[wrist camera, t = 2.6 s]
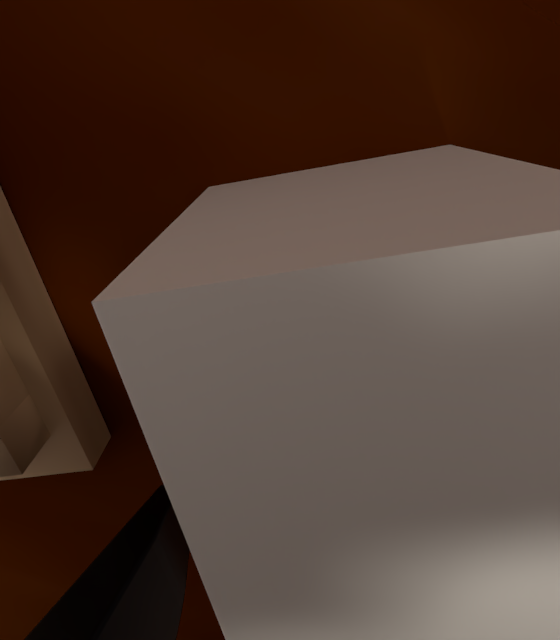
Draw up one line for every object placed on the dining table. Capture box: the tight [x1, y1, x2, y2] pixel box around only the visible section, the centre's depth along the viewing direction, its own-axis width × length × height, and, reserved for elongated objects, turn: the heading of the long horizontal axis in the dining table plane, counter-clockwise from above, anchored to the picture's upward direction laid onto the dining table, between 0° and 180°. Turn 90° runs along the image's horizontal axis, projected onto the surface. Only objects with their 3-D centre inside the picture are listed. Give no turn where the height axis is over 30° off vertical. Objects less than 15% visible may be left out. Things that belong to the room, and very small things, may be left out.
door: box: [91, 145, 560, 640], centre depth 8 cm, size 4×12×5 cm, turn 10°
